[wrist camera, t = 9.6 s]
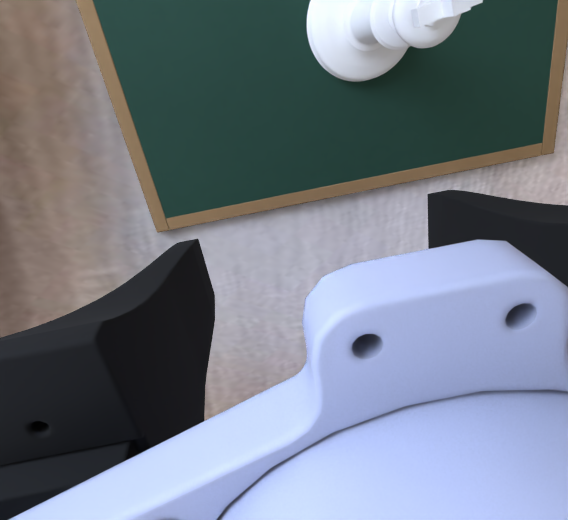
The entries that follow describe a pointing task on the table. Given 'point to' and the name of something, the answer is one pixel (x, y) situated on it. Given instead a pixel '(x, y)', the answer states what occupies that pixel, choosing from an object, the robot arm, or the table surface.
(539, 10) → the desk mat
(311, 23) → the chess piece
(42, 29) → the table surface
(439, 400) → the robot arm
